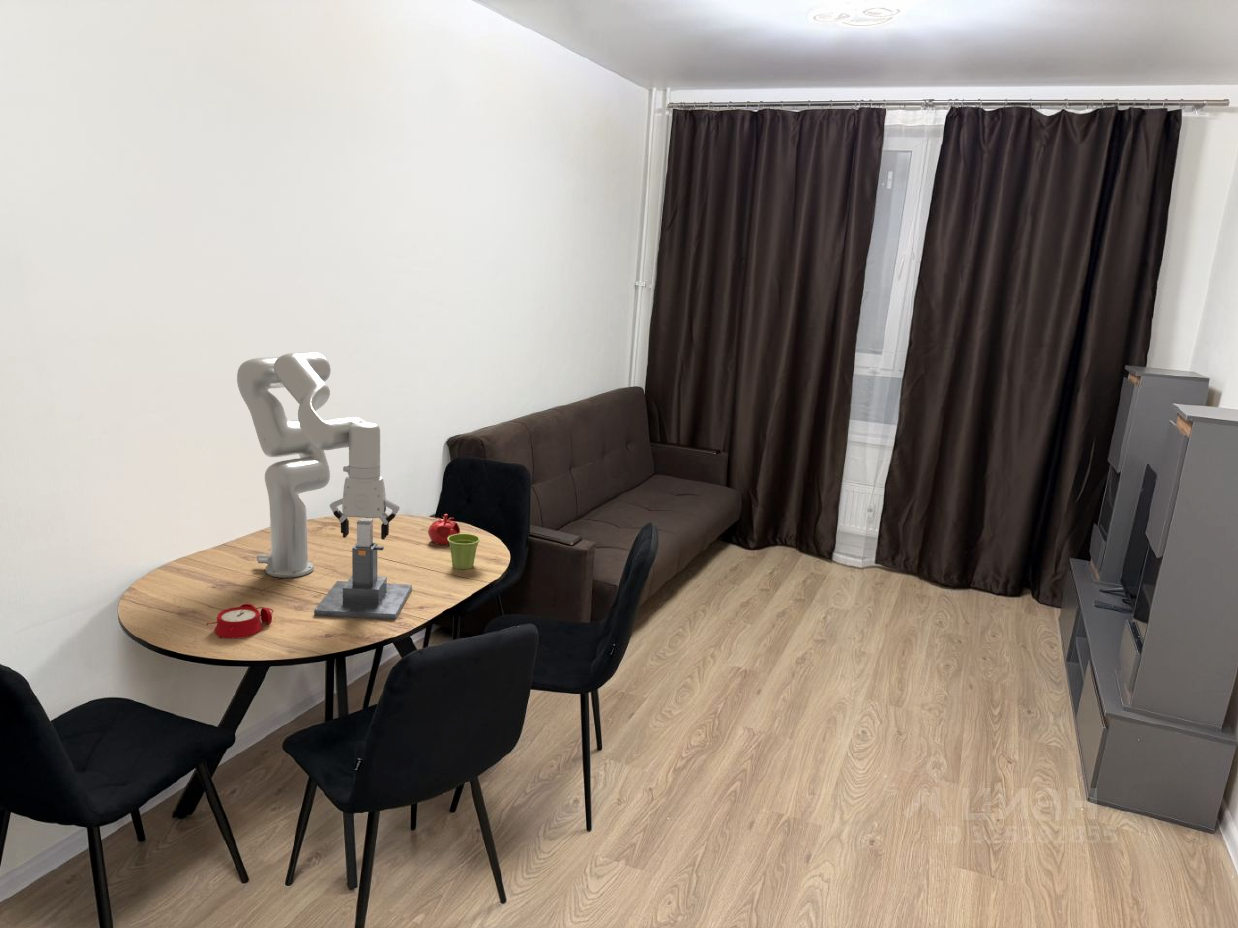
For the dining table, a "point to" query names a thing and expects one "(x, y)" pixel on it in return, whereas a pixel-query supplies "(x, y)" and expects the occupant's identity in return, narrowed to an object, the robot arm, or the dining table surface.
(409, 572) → the dining table surface
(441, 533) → the pomegranate
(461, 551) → the plant pot
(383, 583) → the charcoal stand
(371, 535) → the steel post
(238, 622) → the alarm clock
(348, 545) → the dining table surface
